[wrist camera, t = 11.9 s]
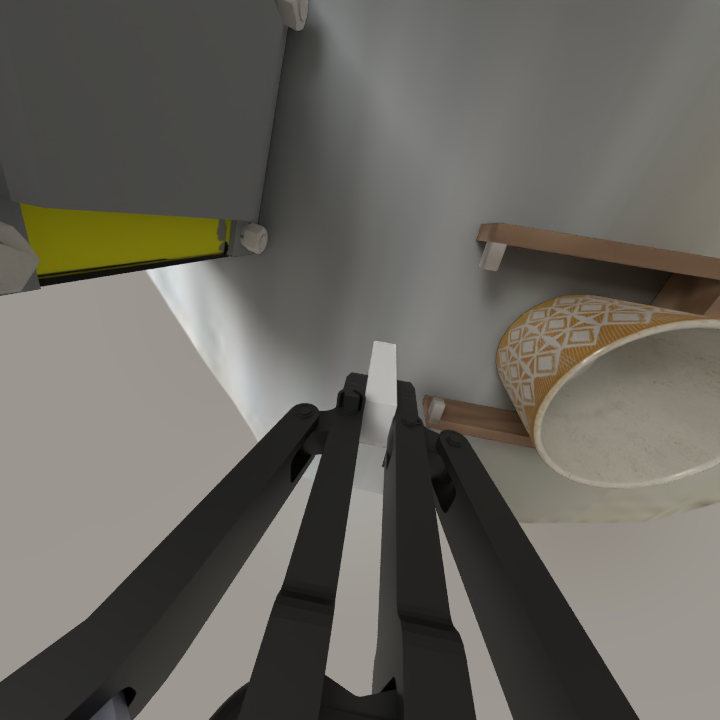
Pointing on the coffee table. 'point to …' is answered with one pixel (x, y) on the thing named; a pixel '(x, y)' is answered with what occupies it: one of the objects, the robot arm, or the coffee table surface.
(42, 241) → the electrical component
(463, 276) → the coffee table surface
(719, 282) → the walnut cradle
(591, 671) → the robot arm
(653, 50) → the coffee table surface
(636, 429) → the planter
